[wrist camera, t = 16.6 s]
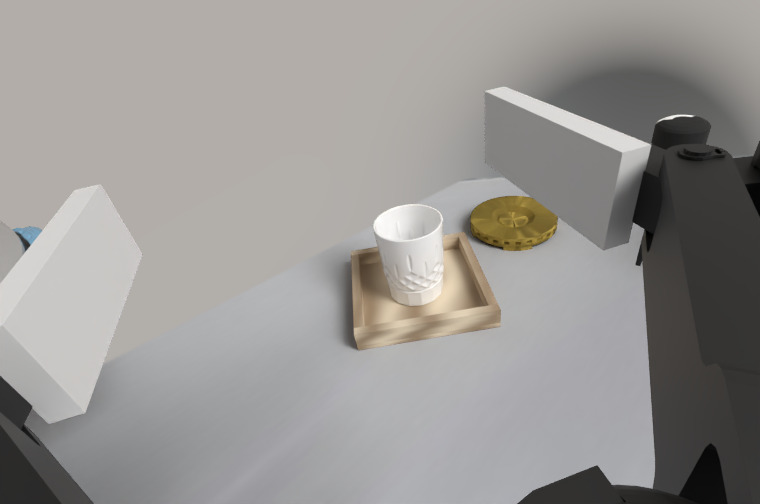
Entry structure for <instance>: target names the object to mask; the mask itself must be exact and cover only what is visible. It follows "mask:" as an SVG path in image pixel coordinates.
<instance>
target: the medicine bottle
mask: <svg viewBox="0 0 760 504" xmlns="http://www.w3.org/2000/svg"><path fill="white" fill-rule="evenodd" d="M710 129H711V125H710V123H709V122H708V121H707V120H705V119H703V118H700V117H697V116H691V115H674V116H670V117H666V118H663V119H661V120H659V121H658V122H657V123H656V125H655V129H654V133H653V138H652V142H651V144H652V145H655V146H657V147H660V148H662V149H665V150H666V149H668V148H670V147H672V146H676V145H681V144H705V145H706V142H707V138H708V135H709V132H710Z"/></svg>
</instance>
